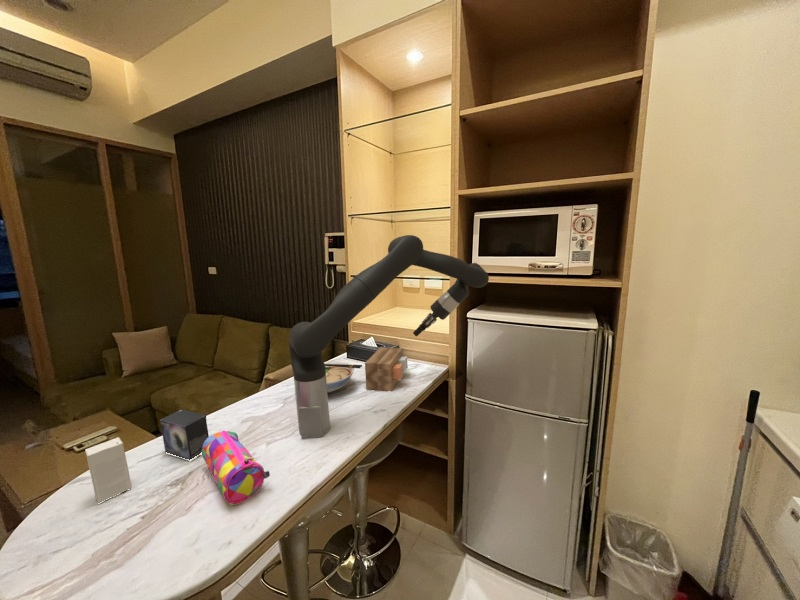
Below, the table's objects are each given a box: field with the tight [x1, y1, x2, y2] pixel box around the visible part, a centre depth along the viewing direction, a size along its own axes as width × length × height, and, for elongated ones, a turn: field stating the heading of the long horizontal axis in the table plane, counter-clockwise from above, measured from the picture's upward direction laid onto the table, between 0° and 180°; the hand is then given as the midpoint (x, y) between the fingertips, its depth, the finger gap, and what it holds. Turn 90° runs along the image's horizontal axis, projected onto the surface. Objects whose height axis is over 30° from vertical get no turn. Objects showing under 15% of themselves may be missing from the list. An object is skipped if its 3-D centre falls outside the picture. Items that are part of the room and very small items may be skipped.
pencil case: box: [201, 430, 271, 506], centre depth 76 cm, size 22×9×9 cm, turn 46°
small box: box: [159, 409, 210, 460], centre depth 87 cm, size 11×6×10 cm, turn 68°
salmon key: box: [392, 364, 404, 381], centre depth 125 cm, size 7×5×5 cm
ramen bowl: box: [324, 361, 363, 394], centre depth 124 cm, size 25×23×8 cm
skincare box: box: [84, 436, 133, 504], centre depth 72 cm, size 6×4×12 cm
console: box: [364, 347, 403, 392], centre depth 130 cm, size 10×20×11 cm, turn 166°
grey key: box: [398, 355, 409, 373], centre depth 134 cm, size 7×5×5 cm
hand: (414, 334), depth 128 cm, fingers closed
